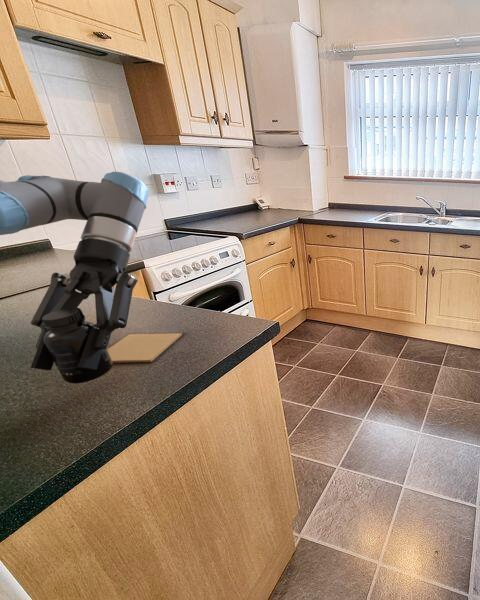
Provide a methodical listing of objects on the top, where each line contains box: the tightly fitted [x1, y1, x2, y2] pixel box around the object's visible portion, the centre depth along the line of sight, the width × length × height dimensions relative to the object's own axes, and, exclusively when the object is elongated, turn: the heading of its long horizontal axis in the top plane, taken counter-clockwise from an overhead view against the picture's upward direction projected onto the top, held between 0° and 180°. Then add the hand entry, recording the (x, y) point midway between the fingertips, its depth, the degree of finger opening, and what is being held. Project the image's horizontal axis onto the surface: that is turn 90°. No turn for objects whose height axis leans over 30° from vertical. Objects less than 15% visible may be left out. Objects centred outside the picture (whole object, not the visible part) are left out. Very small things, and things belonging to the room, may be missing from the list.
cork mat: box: [107, 332, 183, 364], centre depth 73 cm, size 12×11×1 cm
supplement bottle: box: [42, 307, 114, 385], centre depth 58 cm, size 7×7×12 cm
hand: (64, 368), depth 56 cm, fingers closed on supplement bottle, 7 cm apart
